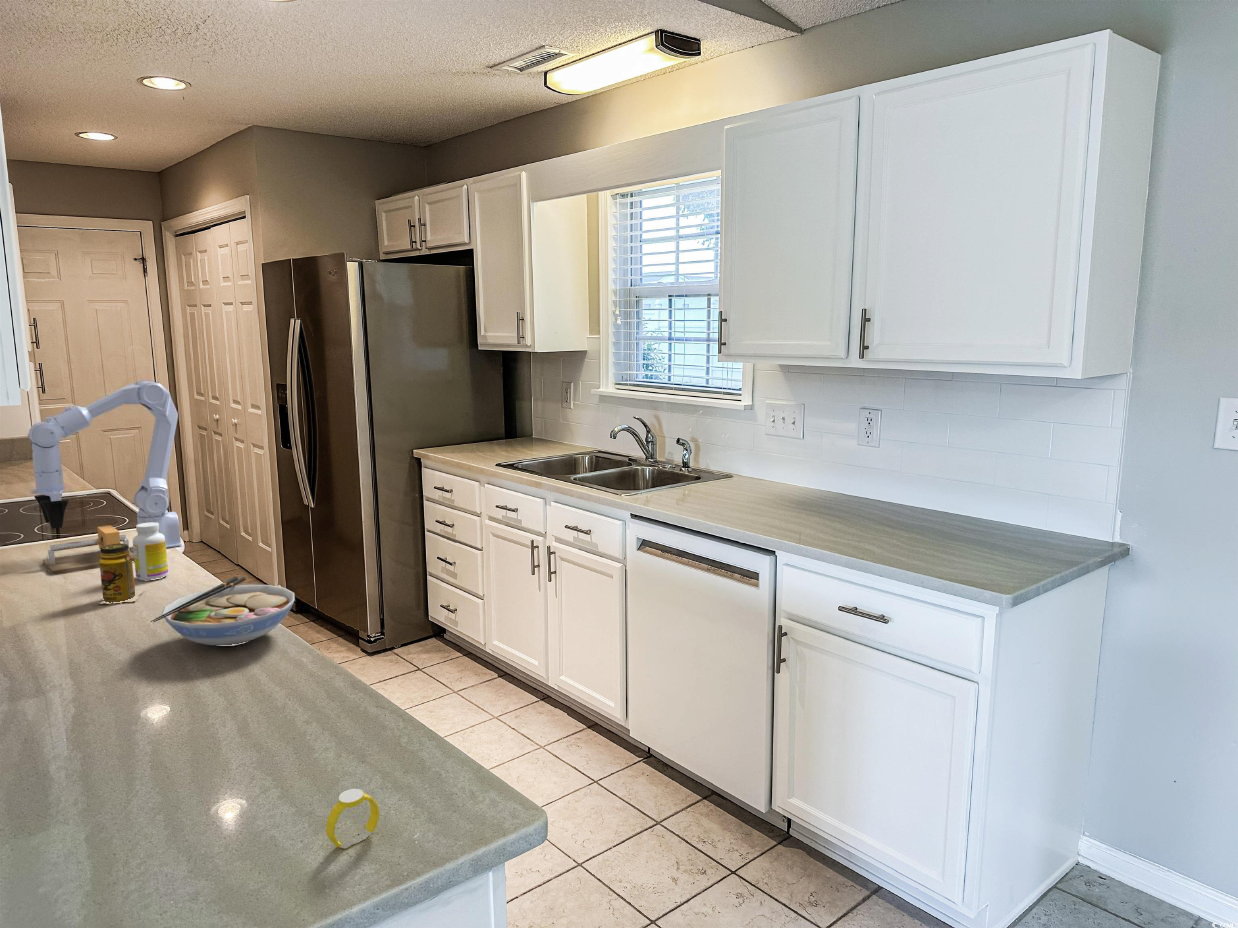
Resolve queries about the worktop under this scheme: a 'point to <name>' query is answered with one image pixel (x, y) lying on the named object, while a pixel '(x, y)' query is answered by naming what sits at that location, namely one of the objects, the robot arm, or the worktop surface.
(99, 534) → the collar
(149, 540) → the supplement bottle
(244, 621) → the ramen bowl
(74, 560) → the walnut board
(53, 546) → the metal rod
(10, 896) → the worktop surface
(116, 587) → the condiment
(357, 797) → the watch
